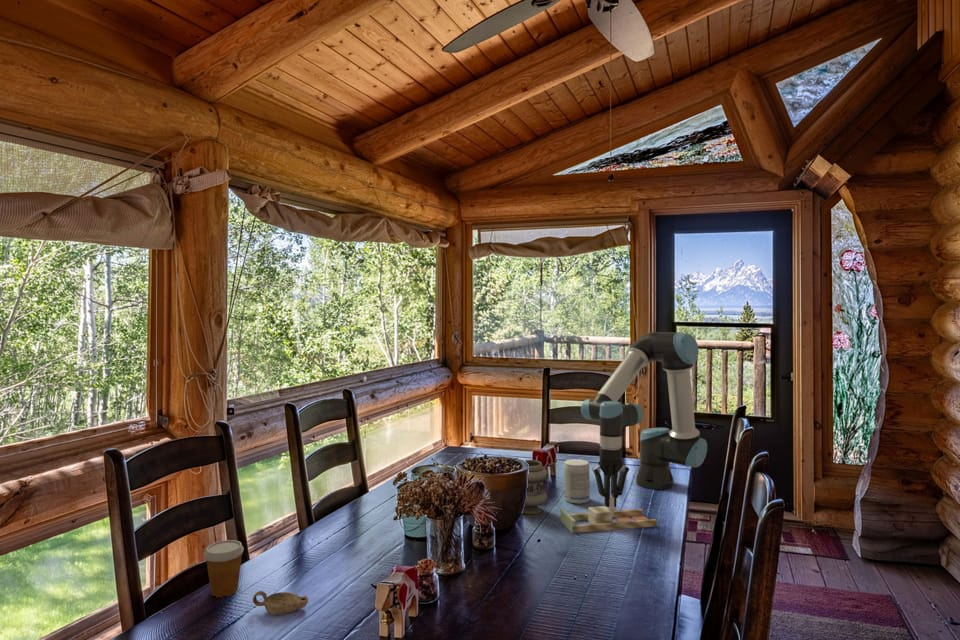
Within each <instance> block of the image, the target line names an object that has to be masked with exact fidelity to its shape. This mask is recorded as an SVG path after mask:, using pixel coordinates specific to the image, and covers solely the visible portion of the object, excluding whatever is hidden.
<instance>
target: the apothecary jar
mask: <svg viewBox="0 0 960 640" xmlns="http://www.w3.org/2000/svg"><path fill="white" fill-rule="evenodd" d="M525 461H526V462H527V463H528V464H529V468H530V470H529V474H528V488H527V497H526V501H525V507H524V510H523V513H522V515H521V516H525V517H529V518H530V517H531V518H532V517H533V518H535V517H540V516H542V515H544V514H545V510H544V509H543V508H541V507H539V506H541V505H543V504H545V503H546V502H547V500H548V494H547V492H546V491H545V489H544V485H545V484H544V481H545V479H546V478H547V471H546V469H545V468H544V467H543V462H541V461H539V460H537V459H525Z"/></svg>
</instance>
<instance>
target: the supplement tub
mask: <svg viewBox="0 0 960 640" xmlns="http://www.w3.org/2000/svg"><path fill="white" fill-rule="evenodd" d="M563 465H564V467H563V473H564V474H563V475H564V476H563V480H564V485H563V487H564V488H563V489H564V500H565V501H567V503H568V502H569V503H570V504H571V503H572V504H577V505H579V504H584V503H585V504H586V503H588V502H589V501H590V499H591V496H590V493H591V490H590V489H591V488H590V487H591V486H590V485H591V484H590V479H591V478H590V463H589V461H588V460H585V459H580V458H579V459H577V458H576V459H573V458H572V459H571V458H570V459H567V460H565V461H564V464H563Z"/></svg>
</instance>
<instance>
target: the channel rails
mask: <svg viewBox="0 0 960 640" xmlns="http://www.w3.org/2000/svg"><path fill="white" fill-rule="evenodd" d="M568 514H569V515H570V516H571V517H572V518H573V519H574V520H575V522H577V521H579V522H580V521H588V515H589V512H581V513H568ZM638 515H643V516H644V510H643V509H642V508H637V509H623V510H622V509H621V510H614V517H625V516H627V517H629V518H631V517H630V516H638ZM614 517H612V519H615V518H614ZM657 526H658V520H657V519H656V518H651V519H649V520H636V521H635V520H632V521H623V522H618V521H614V522H613V521H612V522H610V523H597V524H590V523H587V524H586V523H585V524H575V527H573V529H574V528H575V531H574V530H573V531H572V533H571V534H574V532H575V533H577V534H578V533H587V532H590V533H591V532H600V531H611V530H612V531H613V530H624V529H637V528H648V527H649V528H651V527H657Z"/></svg>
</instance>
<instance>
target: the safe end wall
mask: <svg viewBox="0 0 960 640" xmlns="http://www.w3.org/2000/svg"><path fill="white" fill-rule="evenodd" d="M559 511H560V519H559V521H560V522H561V523H562V524H563V525H564V526H565V527H566V528H567V529H568V530H569V532H571V534H574V533H575V532H574V533H572V531H573V530H574V531H575V528H574V529H573V527H575V525H576V521H575V520H574V519H573V518H572V517H571V516H570V515H569V514H570V513H569V512H568V511H566V510H565V508H560V510H559Z"/></svg>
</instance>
